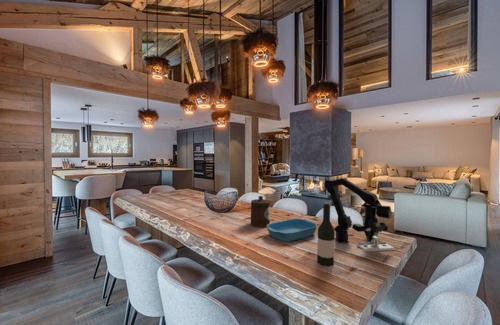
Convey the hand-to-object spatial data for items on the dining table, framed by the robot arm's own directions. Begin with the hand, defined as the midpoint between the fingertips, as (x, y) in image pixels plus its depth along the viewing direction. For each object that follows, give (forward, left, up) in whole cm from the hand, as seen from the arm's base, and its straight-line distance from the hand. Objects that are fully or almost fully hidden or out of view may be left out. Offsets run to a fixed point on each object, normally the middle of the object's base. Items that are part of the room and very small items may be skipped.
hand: (369, 242), depth 136 cm
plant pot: (+13, +16, -4) cm, 21 cm away
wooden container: (-55, +52, -4) cm, 76 cm away
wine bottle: (-34, -15, -4) cm, 37 cm away
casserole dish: (-38, +27, -4) cm, 47 cm away
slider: (+3, 0, -2) cm, 4 cm away
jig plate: (+4, 0, -4) cm, 5 cm away
